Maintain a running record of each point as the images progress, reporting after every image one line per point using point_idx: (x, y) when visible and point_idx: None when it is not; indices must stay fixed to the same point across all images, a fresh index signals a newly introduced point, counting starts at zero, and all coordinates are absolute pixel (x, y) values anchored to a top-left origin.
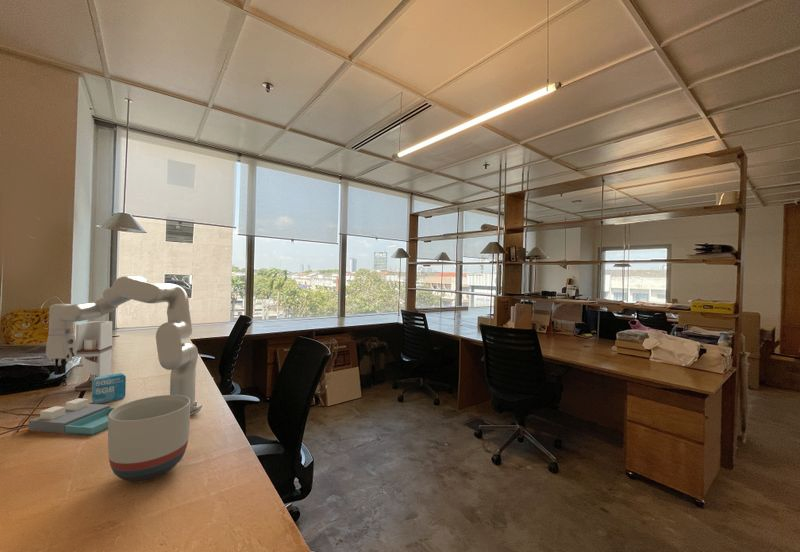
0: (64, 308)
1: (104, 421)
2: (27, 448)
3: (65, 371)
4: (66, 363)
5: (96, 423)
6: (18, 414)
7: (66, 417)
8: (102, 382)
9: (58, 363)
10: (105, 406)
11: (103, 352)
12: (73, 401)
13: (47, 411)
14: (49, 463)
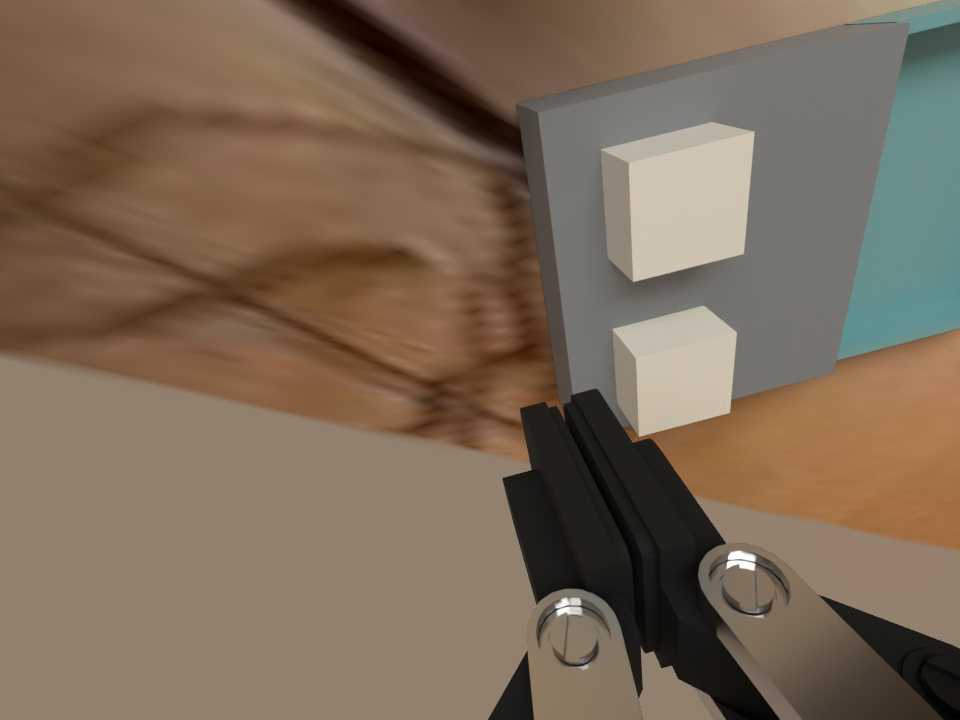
0: None
1: (926, 165)
2: (765, 461)
3: (608, 405)
4: (777, 572)
5: (894, 207)
6: (129, 327)
7: (768, 329)
8: None
9: (728, 718)
10: (889, 67)
11: None
12: (675, 237)
13: (693, 419)
14: (956, 465)
